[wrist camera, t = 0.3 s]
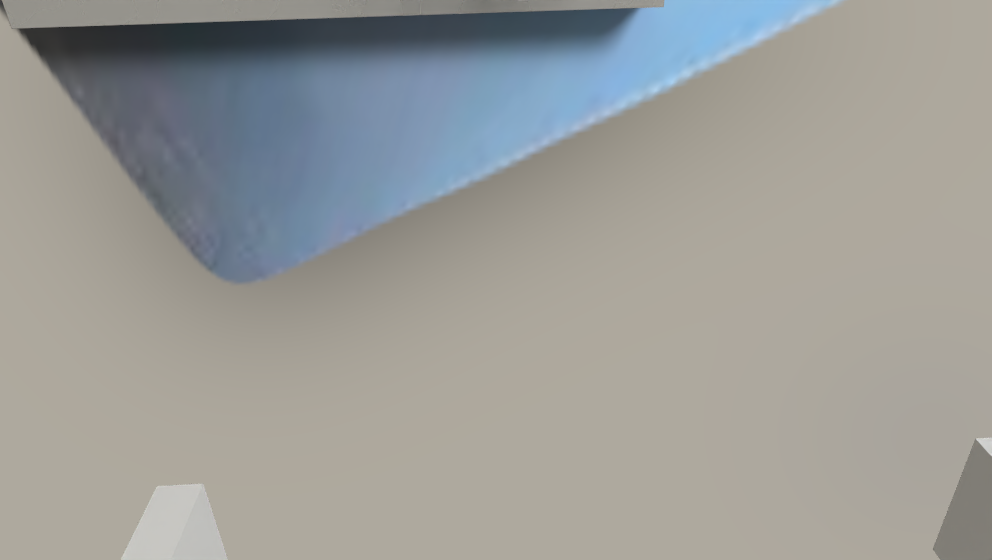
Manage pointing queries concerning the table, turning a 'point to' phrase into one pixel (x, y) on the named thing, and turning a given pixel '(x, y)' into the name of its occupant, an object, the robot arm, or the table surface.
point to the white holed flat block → (268, 9)
